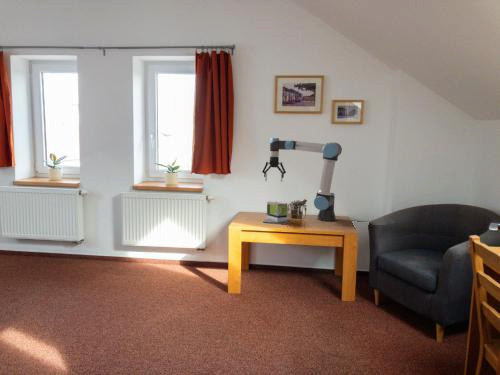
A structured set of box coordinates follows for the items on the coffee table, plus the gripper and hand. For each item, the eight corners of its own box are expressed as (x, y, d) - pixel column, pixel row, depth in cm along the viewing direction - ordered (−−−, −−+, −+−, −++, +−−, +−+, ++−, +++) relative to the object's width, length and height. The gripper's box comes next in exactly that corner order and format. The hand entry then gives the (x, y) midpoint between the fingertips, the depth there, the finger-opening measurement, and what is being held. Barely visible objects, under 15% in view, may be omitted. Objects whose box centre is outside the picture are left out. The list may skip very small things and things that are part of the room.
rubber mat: (289, 220, 330) (289, 218, 329) (285, 224, 312) (285, 223, 312) (268, 218, 334) (268, 217, 334) (263, 222, 317) (263, 221, 317)
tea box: (287, 221, 320) (287, 203, 318) (277, 222, 314) (277, 204, 313) (276, 218, 332) (276, 200, 331) (266, 219, 327) (266, 201, 325)
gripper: (289, 156, 337) (289, 181, 339) (261, 155, 343) (260, 180, 346) (288, 156, 329) (287, 182, 332) (258, 156, 336) (258, 181, 339)
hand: (273, 181), depth 339 cm, fingers open, 13 cm apart
